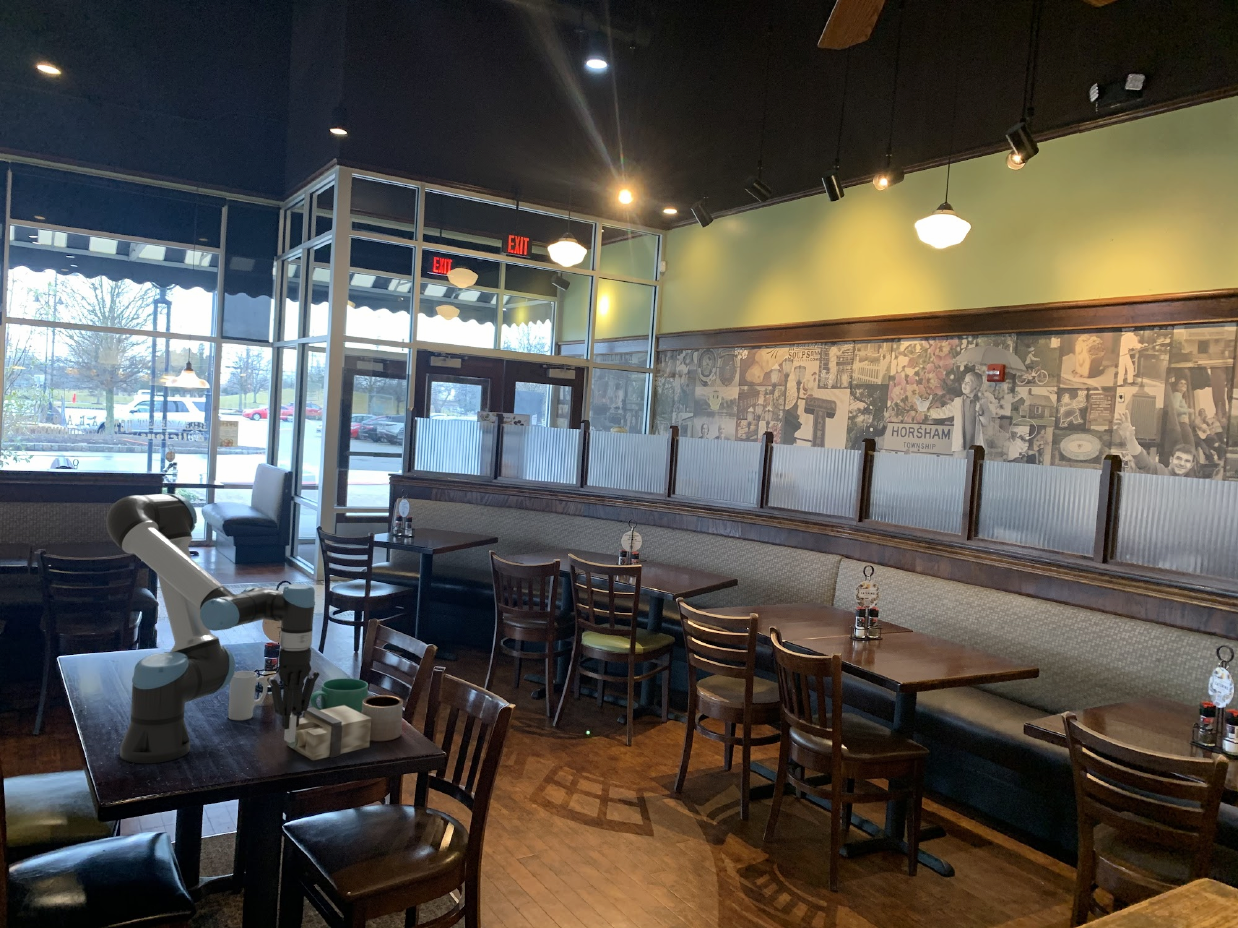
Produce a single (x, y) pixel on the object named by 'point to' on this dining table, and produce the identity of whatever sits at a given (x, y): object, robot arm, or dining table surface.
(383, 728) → the planter
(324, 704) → the mug
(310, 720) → the sleeve block
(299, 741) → the dowel
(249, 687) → the mug
